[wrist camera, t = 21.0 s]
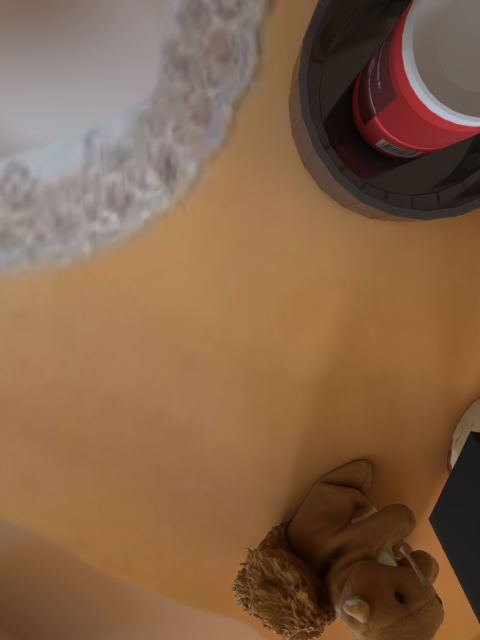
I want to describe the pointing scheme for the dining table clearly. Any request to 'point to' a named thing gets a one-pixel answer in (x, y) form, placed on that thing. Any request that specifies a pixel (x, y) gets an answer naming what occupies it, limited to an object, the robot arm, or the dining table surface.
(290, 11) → the dining table surface
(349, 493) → the stuffed squirrel
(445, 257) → the dining table surface
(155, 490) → the dining table surface
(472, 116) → the canned food
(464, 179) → the bowl
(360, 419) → the dining table surface
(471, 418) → the food model
